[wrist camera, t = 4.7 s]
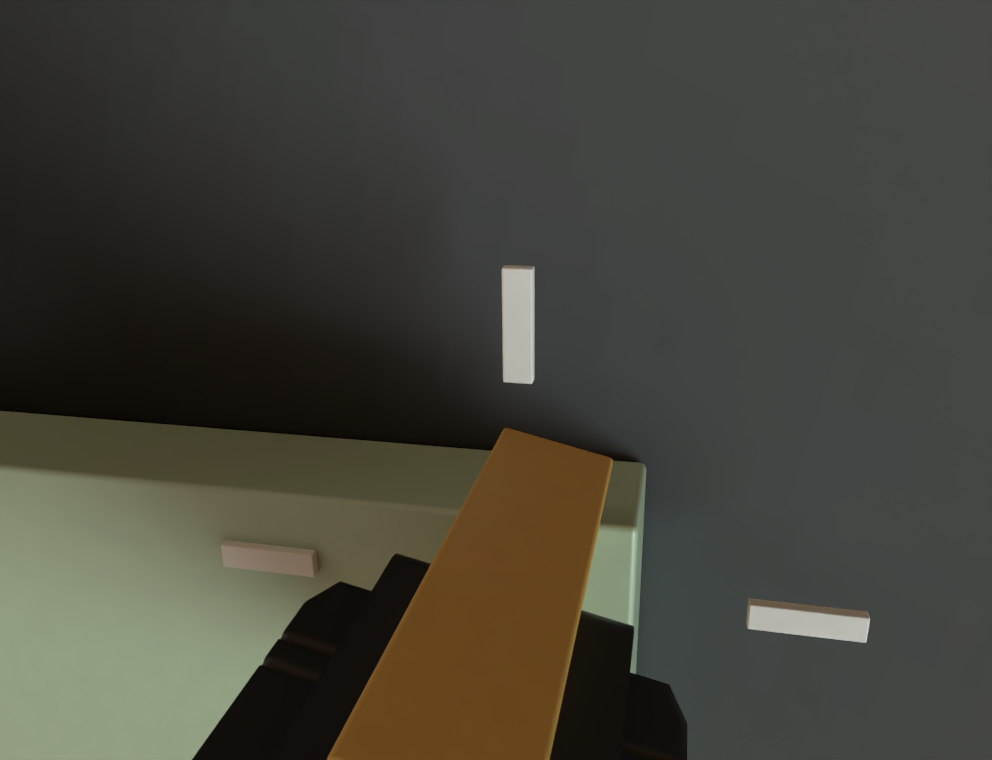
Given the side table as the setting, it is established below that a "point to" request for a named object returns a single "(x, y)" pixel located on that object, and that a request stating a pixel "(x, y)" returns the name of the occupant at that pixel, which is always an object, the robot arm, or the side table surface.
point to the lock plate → (235, 560)
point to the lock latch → (490, 616)
